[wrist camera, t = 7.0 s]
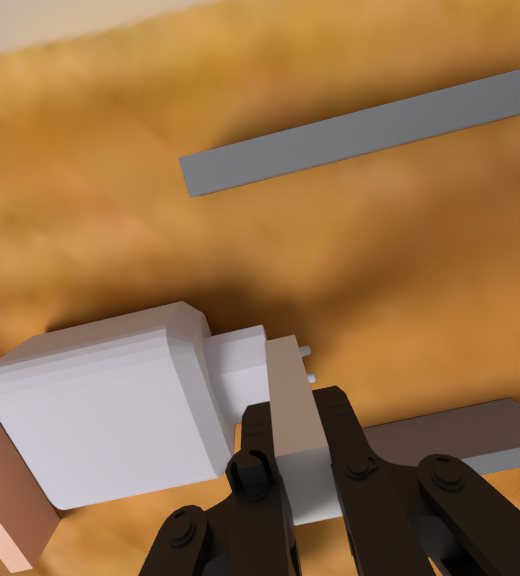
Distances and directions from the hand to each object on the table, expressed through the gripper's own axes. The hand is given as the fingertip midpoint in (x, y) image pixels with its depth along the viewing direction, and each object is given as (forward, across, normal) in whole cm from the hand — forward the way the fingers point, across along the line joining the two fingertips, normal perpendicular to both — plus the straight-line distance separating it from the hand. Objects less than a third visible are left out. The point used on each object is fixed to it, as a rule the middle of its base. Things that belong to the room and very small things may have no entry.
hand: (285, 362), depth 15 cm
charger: (+4, +6, +1) cm, 7 cm away
